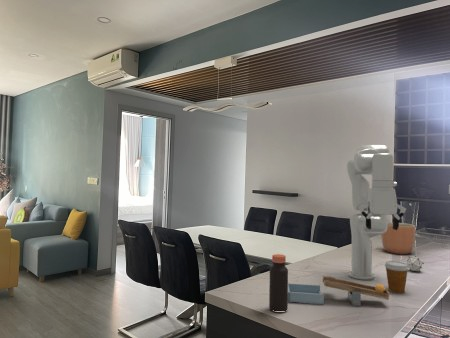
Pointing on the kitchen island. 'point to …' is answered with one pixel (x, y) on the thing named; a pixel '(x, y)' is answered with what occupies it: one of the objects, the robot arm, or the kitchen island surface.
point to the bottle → (278, 284)
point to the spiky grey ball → (414, 264)
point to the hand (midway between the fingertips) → (382, 229)
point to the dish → (305, 294)
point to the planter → (399, 238)
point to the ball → (380, 288)
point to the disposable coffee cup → (396, 276)
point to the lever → (354, 287)
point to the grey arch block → (355, 298)
